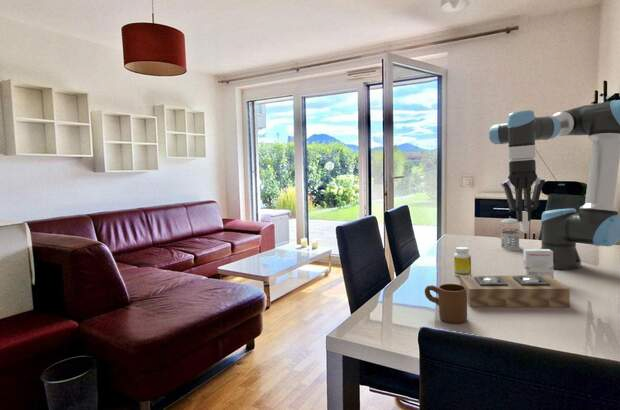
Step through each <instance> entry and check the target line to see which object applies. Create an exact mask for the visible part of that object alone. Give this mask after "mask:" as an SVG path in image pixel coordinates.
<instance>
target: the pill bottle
mask: <svg viewBox="0 0 620 410" xmlns="http://www.w3.org/2000/svg"><path fill="white" fill-rule="evenodd" d="M471 256H472V255H471V253H469V247H466V246H457V247H456V248H455V253H454V254H453V264H454V265H453V268H454V275H455V276H456V277H459V278H460V276H472V257H471Z"/></svg>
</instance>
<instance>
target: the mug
mask: <svg viewBox="0 0 620 410" xmlns="http://www.w3.org/2000/svg"><path fill="white" fill-rule="evenodd" d="M431 291H432V292H434V293H436V294H437V295H438V297H437V296H434V295H432V293H431ZM424 295H425V297H426V299H427V300H428V301H430V302H431V303H435V304H436V305H437V306H438V315H439V319H440V320H442V322H445V323H448V324H454V325H456V324H458V325H459V323H460V324H463V323H465V322H466V321H467V320H468V303H467V294H466V288H465V287H464V286H462V285H460V284H458V283H457V284H456V283H444V284H441V285H440V284H439V286H438V287H437V286H435V285H433V284H432V285H431V284H429V285H427V286H426V287H425V289H424Z"/></svg>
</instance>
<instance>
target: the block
mask: <svg viewBox="0 0 620 410" xmlns="http://www.w3.org/2000/svg"><path fill="white" fill-rule="evenodd" d="M484 277H494V278H497V279H498V283H484V282H483V278H484ZM523 277H536V278H538V279H539V282H524V281H523ZM459 285H462V286H464V287H465V288H466V294H467V302H468V303H467V305H468V304H469V305H470V306H496V307H497V306H498V307H499V306H500V307H501V308H502V307H503V308H506V307H507V308H509V307H513V308H517V307H518V308H520V307H521V308H530V307H531V308H536V307H537V308H570V300H571V299H570V296H571V295H570V288H569V287H567V286H566V285H565V284H563V283H561V282H560V281H559V280H557V279H555V277H554V278H552V277H551V276H549V275H524V274H522V275H471V276H460V277H459ZM469 305H468V306H469ZM470 306H469V307H470ZM498 307H497V308H498ZM500 307H499V308H500Z"/></svg>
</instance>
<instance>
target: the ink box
mask: <svg viewBox="0 0 620 410" xmlns="http://www.w3.org/2000/svg"><path fill="white" fill-rule="evenodd" d="M522 251H523V253H522V254H523V255H522V256H523V275H549V276H551V277H552V278H554V279H555V277H554V269H553V251H551V250H550V249H541V248H523V250H522Z"/></svg>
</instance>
